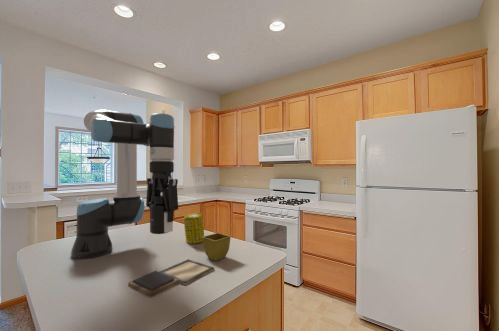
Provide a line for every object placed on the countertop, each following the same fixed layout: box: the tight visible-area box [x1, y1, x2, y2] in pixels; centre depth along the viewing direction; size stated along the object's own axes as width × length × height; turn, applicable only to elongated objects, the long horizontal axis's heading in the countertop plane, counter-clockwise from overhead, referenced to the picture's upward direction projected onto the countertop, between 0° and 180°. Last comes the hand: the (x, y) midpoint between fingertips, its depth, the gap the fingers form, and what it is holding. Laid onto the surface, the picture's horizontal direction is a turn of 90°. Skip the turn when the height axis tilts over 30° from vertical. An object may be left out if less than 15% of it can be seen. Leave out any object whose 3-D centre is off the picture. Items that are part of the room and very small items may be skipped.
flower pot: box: [202, 232, 231, 261], centre depth 97 cm, size 9×9×9 cm
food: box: [183, 212, 205, 245], centre depth 119 cm, size 15×12×10 cm
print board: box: [158, 258, 215, 286], centre depth 84 cm, size 14×14×1 cm
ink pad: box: [132, 270, 174, 291], centre depth 75 cm, size 10×8×1 cm
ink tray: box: [127, 270, 179, 298], centre depth 75 cm, size 12×10×1 cm
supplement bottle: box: [149, 194, 169, 235], centre depth 77 cm, size 7×7×12 cm
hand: (161, 229), depth 77 cm, fingers closed on supplement bottle, 7 cm apart
